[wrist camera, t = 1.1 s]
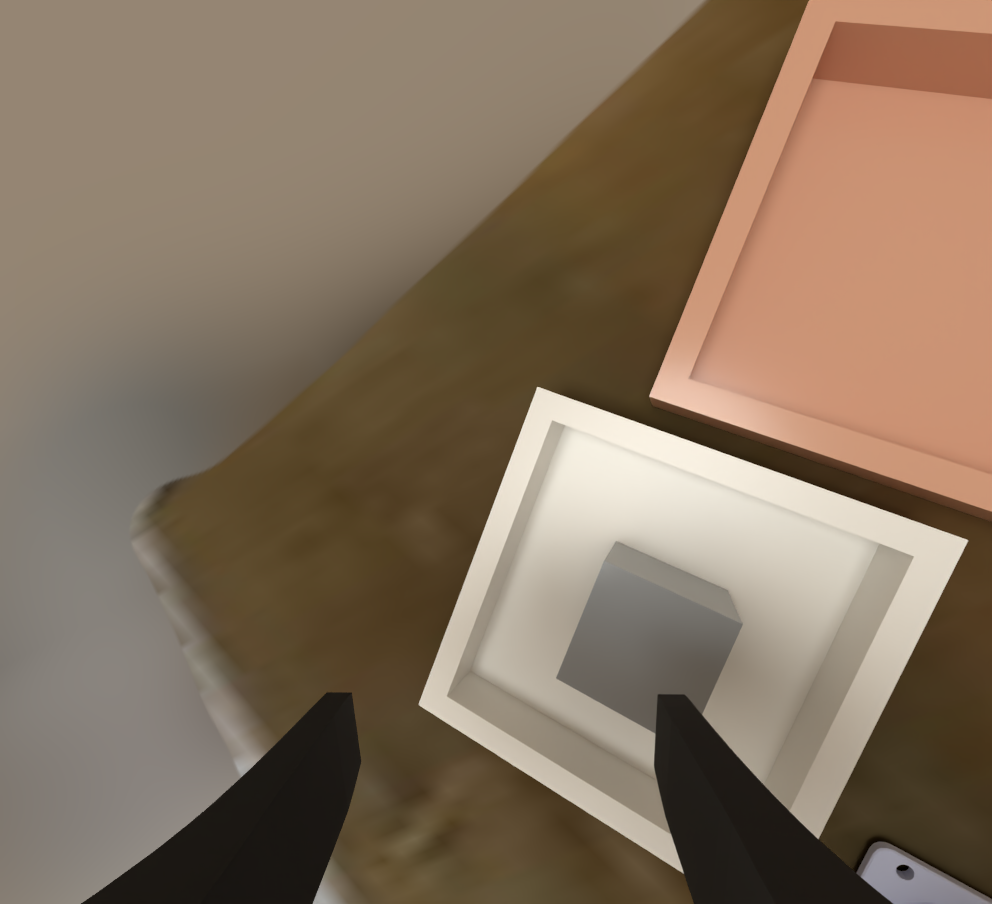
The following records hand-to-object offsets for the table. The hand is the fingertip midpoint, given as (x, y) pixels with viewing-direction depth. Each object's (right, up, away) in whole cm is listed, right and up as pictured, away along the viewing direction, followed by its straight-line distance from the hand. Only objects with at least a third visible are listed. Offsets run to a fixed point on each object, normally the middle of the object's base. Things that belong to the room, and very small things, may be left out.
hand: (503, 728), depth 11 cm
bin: (+15, +12, +6) cm, 20 cm away
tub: (+6, 0, +9) cm, 11 cm away
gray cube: (+6, 0, +8) cm, 10 cm away
